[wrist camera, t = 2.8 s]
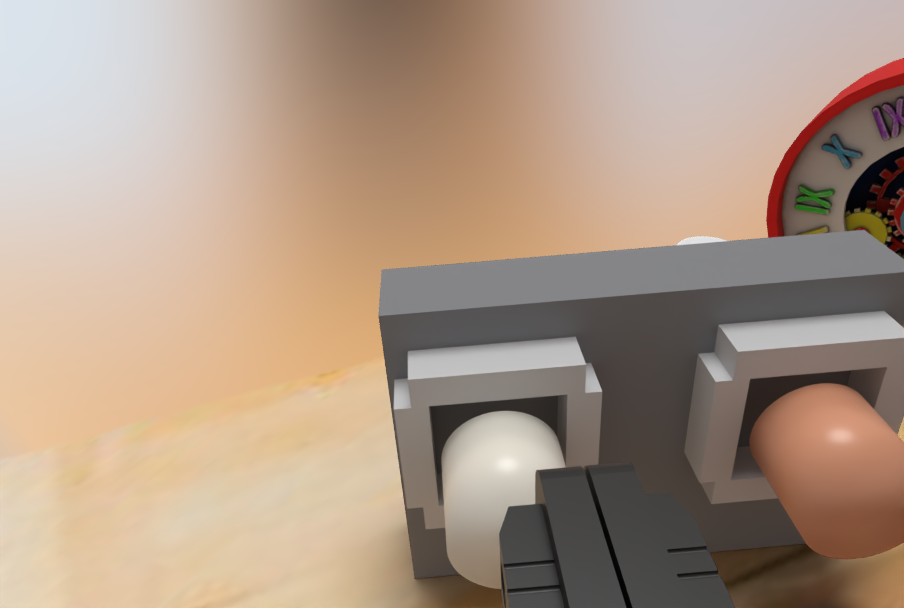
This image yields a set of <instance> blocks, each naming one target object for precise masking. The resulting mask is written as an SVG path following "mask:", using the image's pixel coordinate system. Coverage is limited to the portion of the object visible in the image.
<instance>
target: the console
mask: <svg viewBox="0 0 904 608" xmlns="http://www.w3.org/2000/svg"><path fill="white" fill-rule="evenodd" d="M379 322H380V329H381V337H382V344H383V351H384V359H385V366H386V373H387V380H388V388H389V395H390V402H391V409H392V417H393V424H394V431H395V438H396V446H397V453H398V460H399V467H400V475H401V482H402V489H403V496H404V504H405V511H406V518H407V525H408V533H409V540H410V547H411V554H412V562H413V569H414V576H415V579H416V578H427V577H438V576H449V575H461V574H459V573H458V572H457V571H456V570H455V568H454V567H453V566H452V564H451V563H450V560H449V558H448V554H447V547H446V530H445V514H444V497H443V481H442V464H441V456H442V451H443V448H444V445H445V443H446V441H447V439H448V438H449V437H450V435H451V434H452V433H453V432H454V431H455V430H456V429H457V428H458V427H459V426H461V425H462V424H463V423H465V422H467V421H468V420H470V419H472V418H474V417H476V416H479V415H482V414H486V413H490V412H496V411H517V412H522V413H526V414H529V415H532V416H534V417H537V418H538V419H540V420H542V421H543V422H545V423H546V424H547V425H548V426H549V427H550V428H551V429H552V430H553V431H554V433H555V434H556V436H557V438H558V440H559V444H560V447H561V451H562V454H563V458H564V462H565V465H566V467H577V466H581V467H582V468H584V466H586V465H598V464H609V463H621V462H631V463H632V464H633V466H634V468H635V470H636V473H637V475H638V478H639V480H640V483H641V485H642V488H643V490H644V493H645V494H655V493H667V492H669V493H670V494H671V495H672V496H673V497H674V498H675V499H676V500H677V501H678V502H679V503H680V504H681V505H682V506H683V507H684V508H685V509H686V510H687V511H688V512H689V513H690V514H691V515H692V516H693V517H694V519H695V521H696V524H697V526H698V528H699V530H700V532H701V534H702V537H703V539H704V541H705V543H706V545H707V551H708V552H718V551H729V550H740V549H752V548H763V547H774V546H785V545H796V544H806V543H805V541H804V540H803V538H802V536H801V535H800V533H799V531H798V530H797V528H796V527H795V525H794V523H793V522H792V520H791V518H790V517H789V515H788V513H787V512H786V510H785V509H784V507H783V505H782V504H781V502H780V500H779V499H778V497H777V495H776V494H775V492H774V491H773V489H772V487H771V486H770V484H769V482H768V481H767V479H766V478H765V476H764V474H763V473H762V471H761V469H760V468H759V466H758V464H757V463H756V461H755V460H754V458H753V456H752V454H751V451H750V444H749V441H750V435H751V431H752V428H753V426H754V424H755V422H756V421H757V419H758V418H759V416H760V415H761V414H762V413H763V412H764V411H765V409H766V408H767V407H768V406H770V405H771V404H772V403H773V402H775V401H776V400H777V399H779V398H780V397H782V396H784V395H786V394H787V393H789V392H792V391H794V390H796V389H799V388H802V387H805V386H809V385H813V384H821V383H833V384H840V385H844V386H847V387H850V388H852V389H854V390H856V391H857V392H858V393H859V394H861V395H862V397H863V398H864V399H865V400H866V401H867V402H868V403H869V404H870V405H871V407H872V408H873V409H874V410H875V411H876V412H877V413H878V414H879V415H880V417H881V418H882V419H883V420H884V421H885V422H886V423H887V424H888V425H889V426H890V428H891V429H892V430H893V431H894V432H895V433H896V434H898V431H899V428H900V426H901V423H902V420H903V417H904V328H903V327H902V325H903V322H904V259H903V258H901V257H900V256H899V255H897V254H896V253H895V252H893V251H892V250H891V249H889V248H888V247H887V246H885V245H884V244H882V243H881V242H880V241H878V240H877V239H876V238H874V237H873V236H872V235H870V234H869V233H868V232H866V231H865V230H857V231H845V232H833V233H820V234H808V235H796V236H784V237H772V238H760V239H748V240H736V241H723V242H711V243H699V244H687V245H676V246H664V247H652V248H639V249H627V250H614V251H602V252H591V253H580V254H566V255H555V256H542V257H530V258H518V259H505V260H495V261H482V262H469V263H457V264H445V265H434V266H421V267H408V268H396V269H384V270H382V273H381V288H380V303H379Z"/></svg>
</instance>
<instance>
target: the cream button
mask: <svg viewBox="0 0 904 608" xmlns="http://www.w3.org/2000/svg"><path fill="white" fill-rule="evenodd" d="M441 464H442V481H443V497H444V514H445V530H446V547H447V554H448V558H449V560H450V563H451V564H452V566H453V567H454V568H455V570H456V571H457V572H458V573H459V574H461V575H462V576H463V577H464V578H466V579H468V580H469V581H471V582H473V583H476V584H478V585H481V586H485V587H489V588H495V589H501V569H500V544H499V533H500V530H501V527H502V524H503V521H504V518H505V515H506V512H507V509H508V507H509V506H519V505H531V504H535V474H536V470H542V469H554V468H565V467H566V465H565V462H564V458H563V454H562V451H561V447H560V444H559V440H558V438H557V436H556V434H555V433H554V431H553V430H552V429H551V428H550V427H549V426H548V425H547V424H546V423H545V422H543V421H542V420H540V419H538V418H537V417H534V416H532V415H529V414H526V413H522V412H517V411H496V412H490V413H486V414H482V415H479V416H476V417H474V418H472V419H470V420H468V421H467V422H465V423H463V424H462V425H461V426H459V427H458V428H457V429H456V430H455V431H454V432H453V433H452V434H451V435H450V437H449V438H448V439H447V441H446V443H445V445H444V448H443V451H442V456H441Z"/></svg>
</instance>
